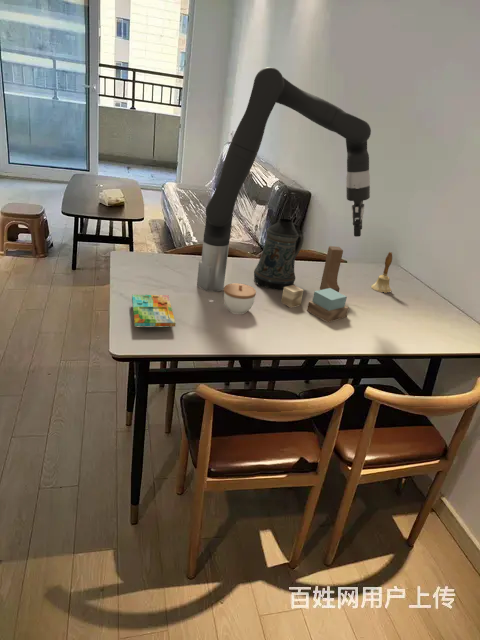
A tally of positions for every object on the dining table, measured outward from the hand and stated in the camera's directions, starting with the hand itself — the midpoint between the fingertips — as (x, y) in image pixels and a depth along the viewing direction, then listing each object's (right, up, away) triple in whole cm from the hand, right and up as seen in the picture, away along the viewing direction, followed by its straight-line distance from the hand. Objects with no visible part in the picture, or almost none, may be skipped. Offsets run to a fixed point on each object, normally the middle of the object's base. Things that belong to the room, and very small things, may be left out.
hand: (358, 232), depth 164 cm
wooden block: (-6, -20, +21) cm, 30 cm away
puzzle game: (-68, -30, -16) cm, 76 cm away
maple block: (-22, -24, +8) cm, 34 cm away
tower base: (-10, -28, +4) cm, 30 cm away
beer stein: (-27, -15, +27) cm, 41 cm away
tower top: (-10, -25, +3) cm, 27 cm away
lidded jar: (-42, -27, -3) cm, 50 cm away
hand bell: (+18, -17, +34) cm, 42 cm away
